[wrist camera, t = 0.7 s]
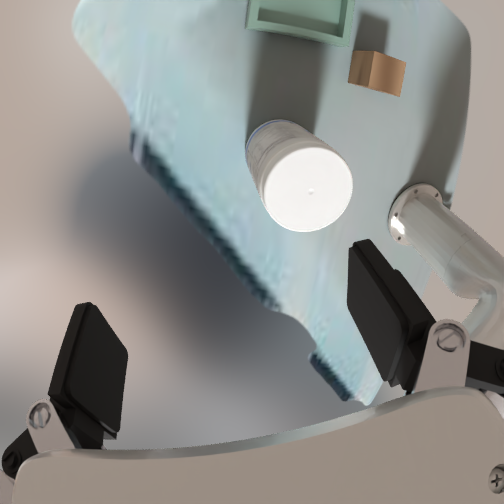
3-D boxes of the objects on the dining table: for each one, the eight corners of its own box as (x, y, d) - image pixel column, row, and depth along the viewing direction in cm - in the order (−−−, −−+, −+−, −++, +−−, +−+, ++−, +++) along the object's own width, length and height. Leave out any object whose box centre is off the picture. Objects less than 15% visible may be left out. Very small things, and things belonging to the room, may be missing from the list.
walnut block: (382, 60, 35) (406, 62, 30) (377, 90, 37) (399, 96, 32) (352, 50, 34) (374, 50, 29) (347, 82, 36) (368, 87, 31)
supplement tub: (323, 150, 42) (372, 191, 30) (276, 194, 45) (306, 250, 33) (278, 103, 37) (316, 124, 25) (228, 152, 40) (242, 195, 28)
